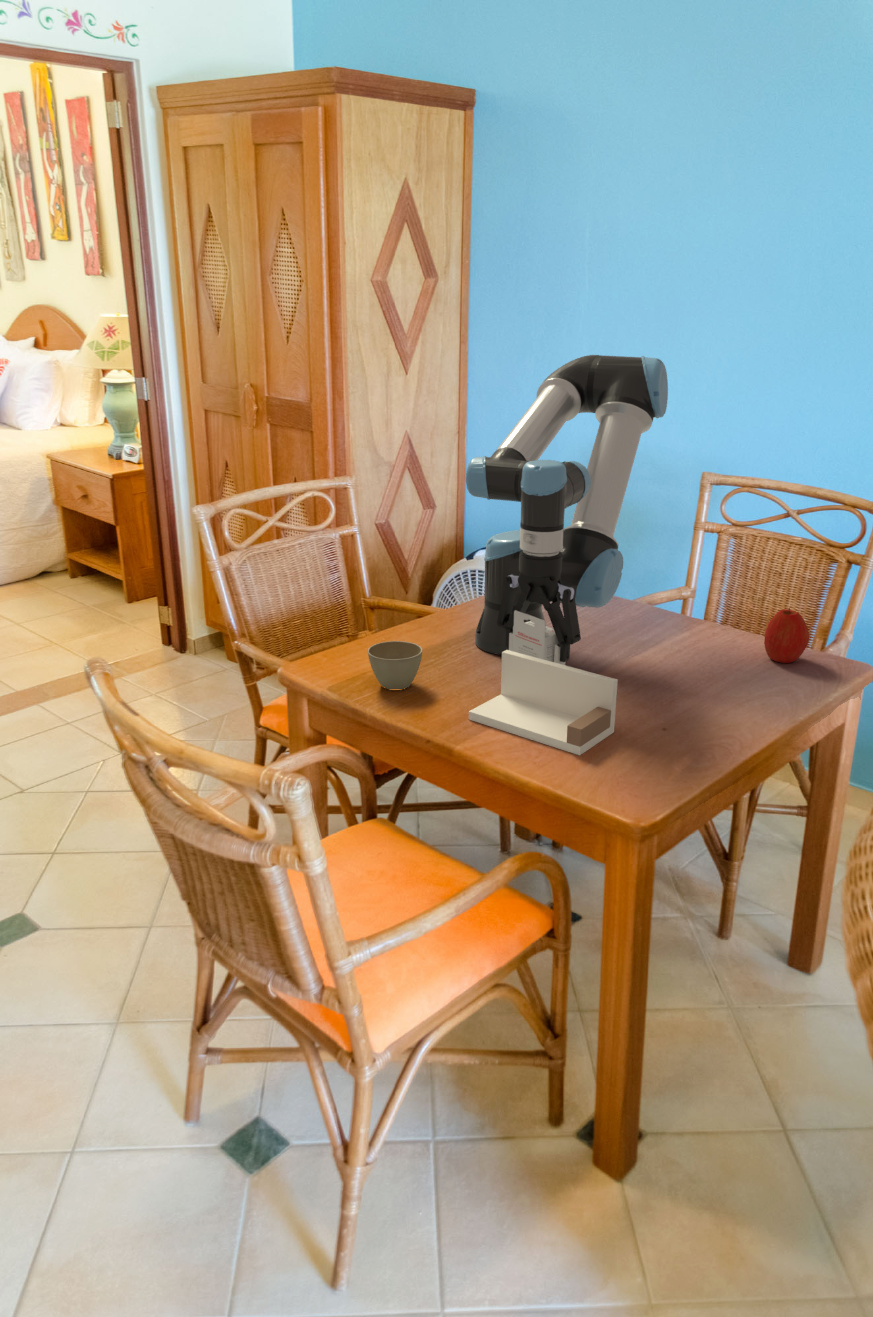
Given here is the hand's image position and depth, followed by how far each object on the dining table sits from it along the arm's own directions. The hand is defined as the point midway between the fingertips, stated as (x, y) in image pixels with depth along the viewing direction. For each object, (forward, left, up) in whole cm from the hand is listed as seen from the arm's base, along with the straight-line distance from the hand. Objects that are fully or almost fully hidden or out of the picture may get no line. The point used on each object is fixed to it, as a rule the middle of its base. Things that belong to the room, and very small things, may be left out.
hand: (536, 670), depth 185 cm
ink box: (0, 0, -4) cm, 4 cm away
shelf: (+10, -13, -4) cm, 16 cm away
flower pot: (-21, -15, -4) cm, 26 cm away
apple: (+30, +43, -4) cm, 53 cm away
